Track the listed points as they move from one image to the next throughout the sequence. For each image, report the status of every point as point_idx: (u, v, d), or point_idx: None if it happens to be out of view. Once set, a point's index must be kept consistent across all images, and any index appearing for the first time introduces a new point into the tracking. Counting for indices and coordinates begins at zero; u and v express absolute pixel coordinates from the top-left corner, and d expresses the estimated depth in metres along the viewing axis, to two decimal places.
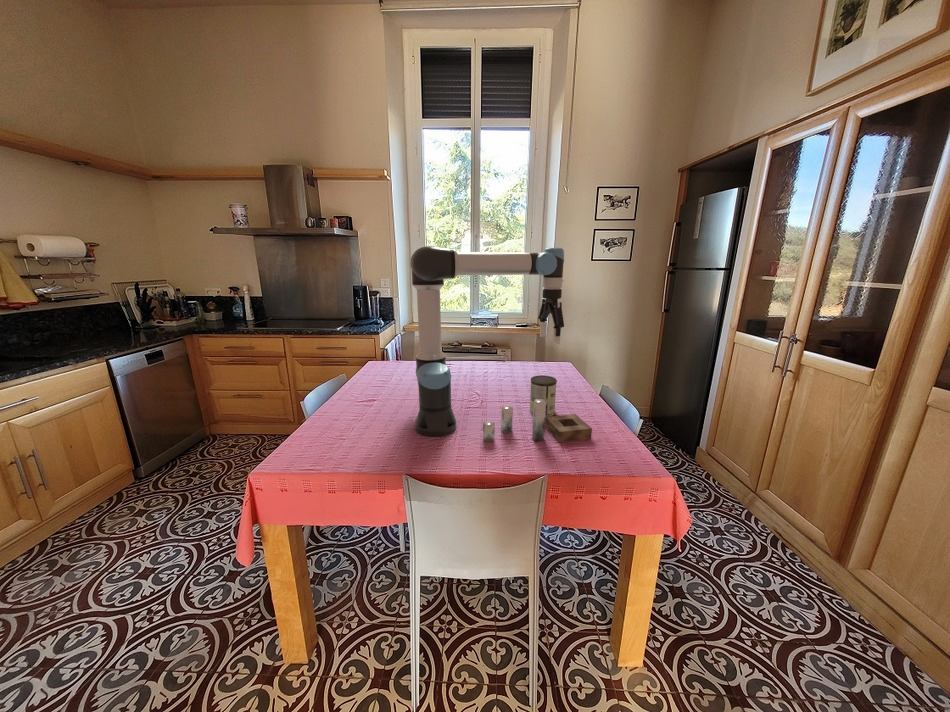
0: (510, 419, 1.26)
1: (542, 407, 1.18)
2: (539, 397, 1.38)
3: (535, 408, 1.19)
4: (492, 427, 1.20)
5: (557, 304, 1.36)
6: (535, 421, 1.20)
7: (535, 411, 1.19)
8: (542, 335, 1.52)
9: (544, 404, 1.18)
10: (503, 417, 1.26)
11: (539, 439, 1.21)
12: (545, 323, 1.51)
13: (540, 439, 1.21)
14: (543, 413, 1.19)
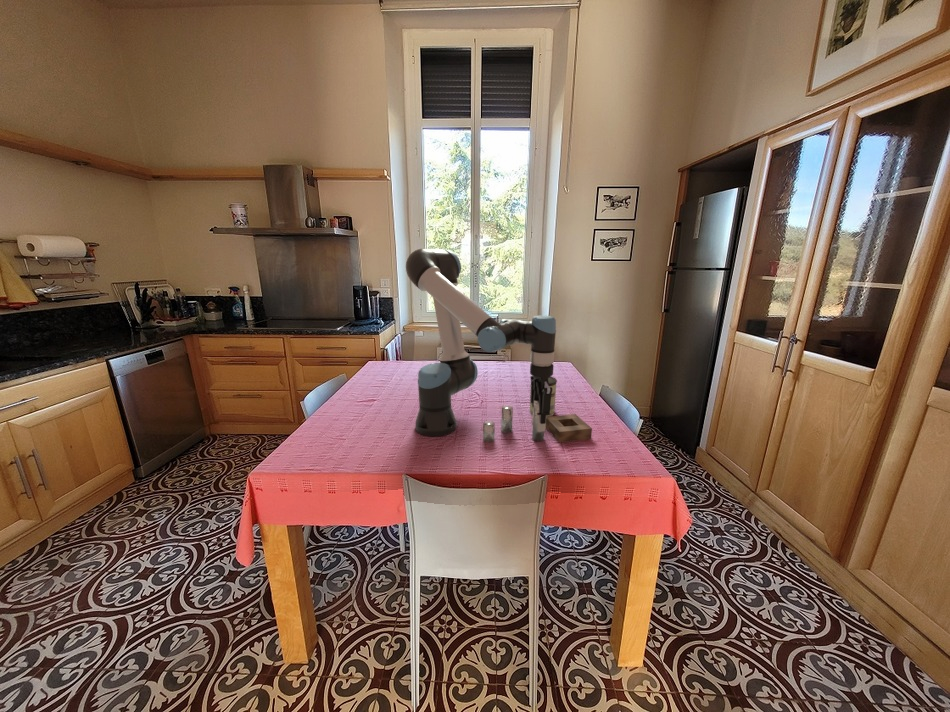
0: (510, 419, 1.26)
1: None
2: None
3: (535, 408, 1.19)
4: (492, 427, 1.20)
5: (547, 391, 1.12)
6: (535, 421, 1.20)
7: (535, 411, 1.19)
8: None
9: None
10: (503, 417, 1.26)
11: (539, 439, 1.21)
12: None
13: (540, 439, 1.21)
14: None
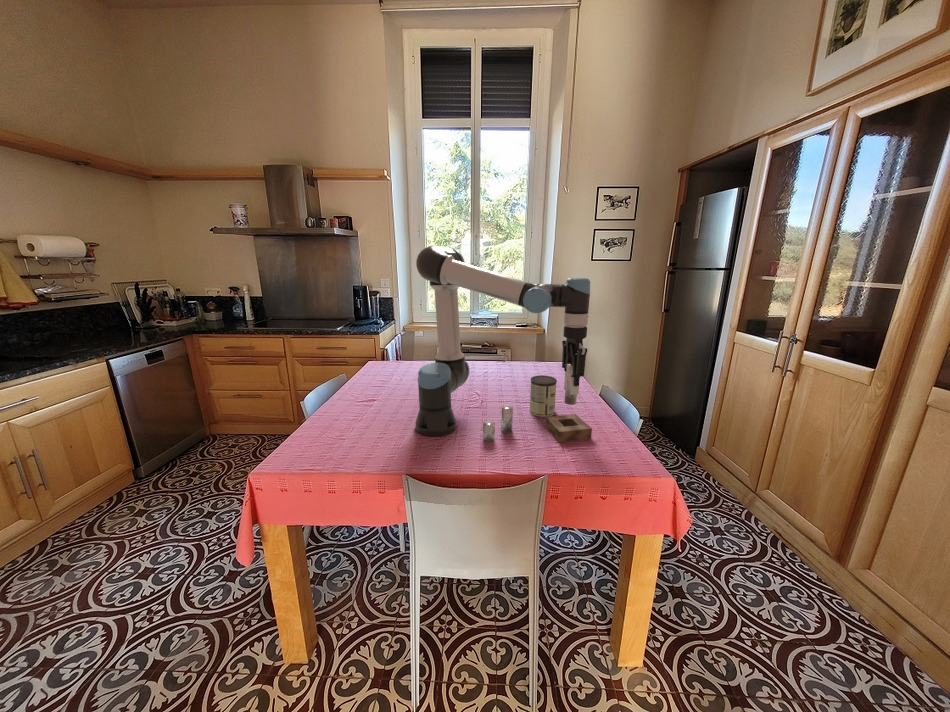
0: (510, 419, 1.26)
1: None
2: (539, 397, 1.38)
3: (568, 371, 1.20)
4: (492, 427, 1.20)
5: (582, 352, 1.13)
6: (568, 384, 1.21)
7: (568, 374, 1.20)
8: None
9: None
10: (503, 417, 1.26)
11: (572, 402, 1.22)
12: None
13: (573, 402, 1.22)
14: None
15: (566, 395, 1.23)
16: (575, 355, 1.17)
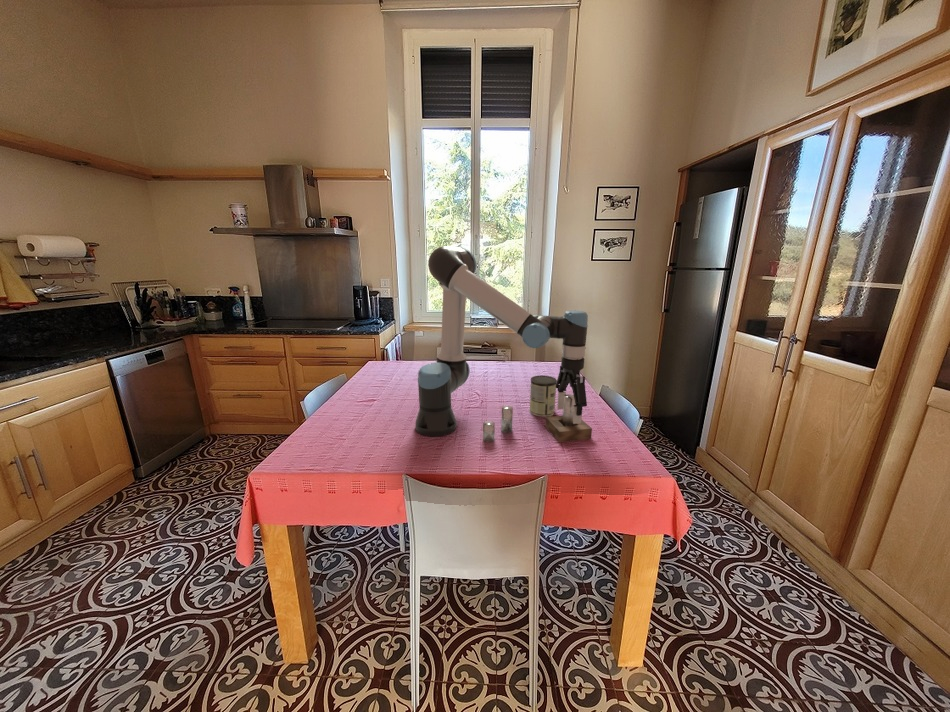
0: (510, 419, 1.26)
1: (572, 402, 1.22)
2: (539, 397, 1.38)
3: (565, 403, 1.23)
4: (492, 427, 1.20)
5: (580, 379, 1.15)
6: (565, 416, 1.24)
7: (565, 406, 1.23)
8: (560, 407, 1.31)
9: None
10: (503, 417, 1.26)
11: None
12: (564, 394, 1.30)
13: None
14: (573, 408, 1.23)
15: None
16: (574, 384, 1.18)
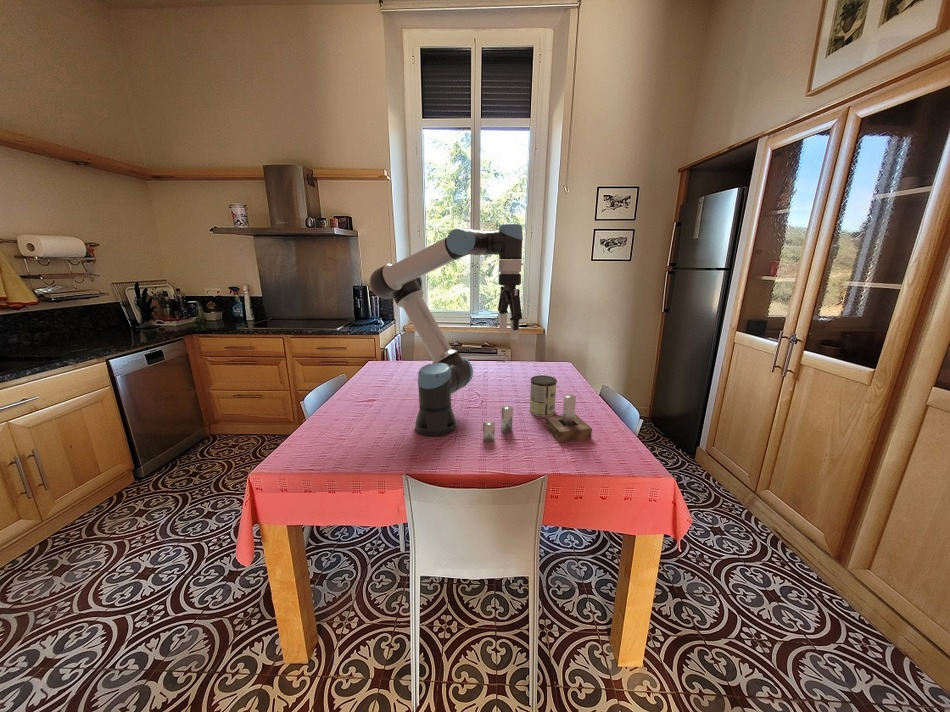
0: (510, 419, 1.26)
1: (572, 402, 1.22)
2: (539, 397, 1.38)
3: (565, 403, 1.23)
4: (492, 427, 1.20)
5: (514, 291, 1.13)
6: (565, 416, 1.24)
7: (565, 406, 1.23)
8: (501, 329, 1.29)
9: (574, 399, 1.22)
10: (503, 417, 1.26)
11: None
12: (505, 315, 1.28)
13: None
14: (573, 408, 1.23)
15: None
16: (511, 300, 1.16)
